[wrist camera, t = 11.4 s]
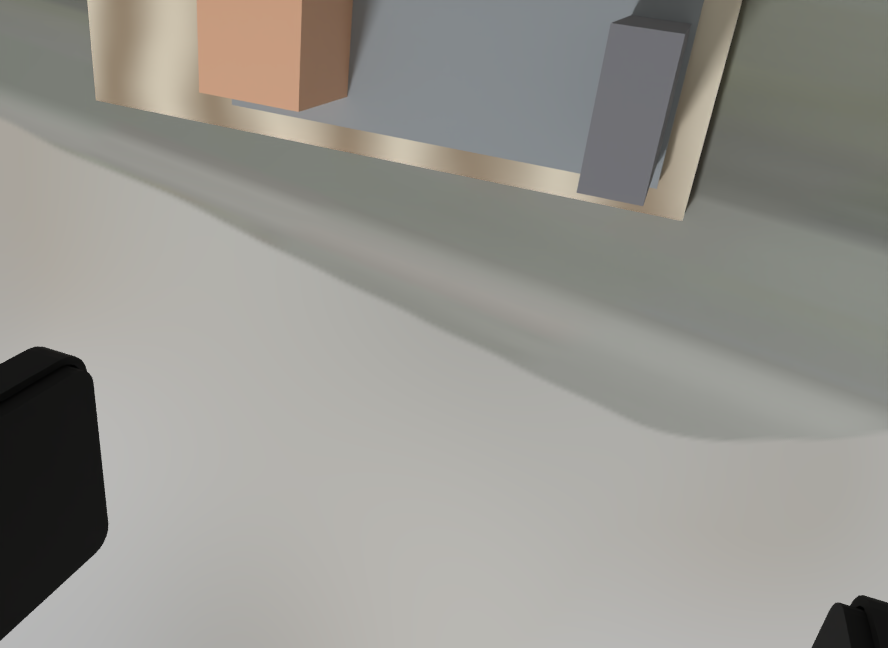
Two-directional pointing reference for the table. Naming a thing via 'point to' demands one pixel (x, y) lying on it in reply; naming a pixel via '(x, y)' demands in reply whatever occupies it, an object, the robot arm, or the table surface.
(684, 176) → the board
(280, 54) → the cube
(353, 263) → the table surface
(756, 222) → the table surface
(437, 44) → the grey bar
